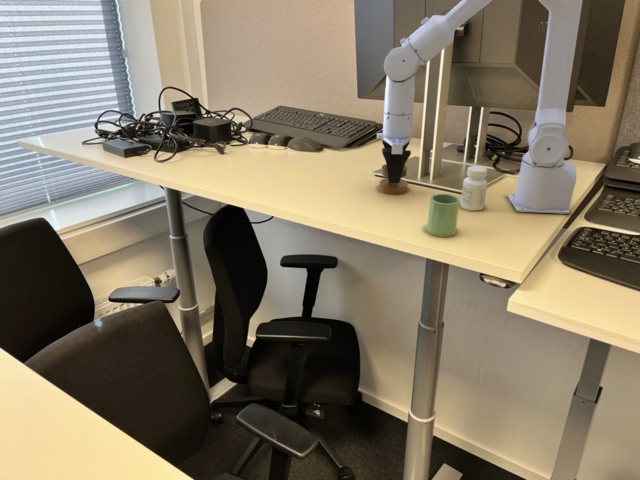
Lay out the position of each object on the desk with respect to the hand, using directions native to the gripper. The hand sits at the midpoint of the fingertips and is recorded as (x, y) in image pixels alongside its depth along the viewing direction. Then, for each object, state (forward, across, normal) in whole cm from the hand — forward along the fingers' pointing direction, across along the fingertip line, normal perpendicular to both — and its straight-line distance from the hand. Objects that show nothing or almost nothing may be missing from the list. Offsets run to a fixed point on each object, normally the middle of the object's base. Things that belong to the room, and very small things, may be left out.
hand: (393, 177), depth 98 cm
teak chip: (+2, 0, 0) cm, 2 cm away
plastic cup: (+2, +20, +8) cm, 21 cm away
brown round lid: (-1, 0, 0) cm, 1 cm away
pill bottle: (+3, +8, +15) cm, 17 cm away
